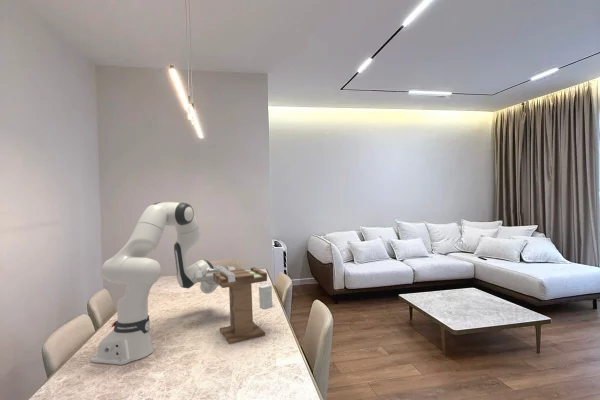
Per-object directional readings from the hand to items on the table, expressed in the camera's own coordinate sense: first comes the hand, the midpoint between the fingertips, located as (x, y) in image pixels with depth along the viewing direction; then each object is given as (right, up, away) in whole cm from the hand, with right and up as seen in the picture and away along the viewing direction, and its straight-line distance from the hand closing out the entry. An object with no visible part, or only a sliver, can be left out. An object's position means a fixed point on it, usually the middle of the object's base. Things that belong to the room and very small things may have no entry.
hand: (217, 268), depth 163 cm
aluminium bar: (+5, -2, -9) cm, 10 cm away
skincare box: (+21, -27, +25) cm, 43 cm away
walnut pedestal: (+13, -27, -10) cm, 32 cm away
